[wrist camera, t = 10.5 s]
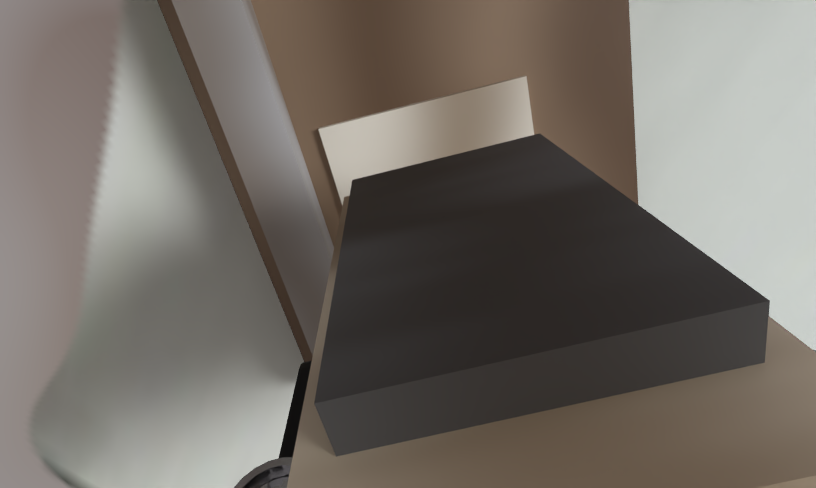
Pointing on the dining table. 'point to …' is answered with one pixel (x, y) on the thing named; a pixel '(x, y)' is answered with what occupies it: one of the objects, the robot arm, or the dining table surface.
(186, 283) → the dining table surface
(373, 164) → the rail board
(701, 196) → the dining table surface
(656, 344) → the wooden block
